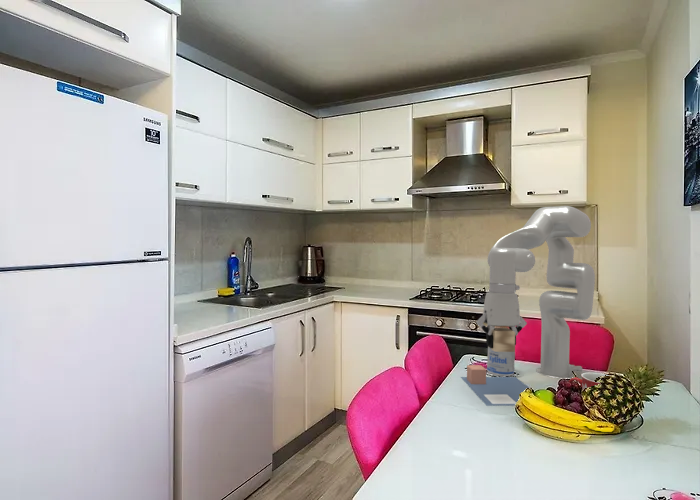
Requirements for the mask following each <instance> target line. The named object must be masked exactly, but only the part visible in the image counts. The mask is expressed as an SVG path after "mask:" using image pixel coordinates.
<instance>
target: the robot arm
mask: <svg viewBox="0 0 700 500" xmlns="http://www.w3.org/2000/svg"><path fill="white" fill-rule="evenodd" d="M591 229H592V222H591V220H590V217H589V216H588V214H586V212H583V211H582V210H580V209H578V208H576V207H573V206H570V205H561V206H560V205H559V206H555V205H554V206H543V207H540V208H538V209H536V210H535V211H534V213H532V215H531V216H530V217H529V219H528V220H527V222H526V223H525V224H524V225H523V226H522V227H521V228H519V229H516V230H515V231H513V232H510V233H507V234H506V235H504V236H502V237H501V238H500V239H498V240H497V241H495V244H494V245H493V246H491V248H490V251H489V252H488V255H487V264H488V266H489V279H488V280H489V281H488V282H489V283H488V285H489V288H488V289H489V291H488V292H486V294H485V297H484V303H483V304H484V305H483V310H482V311H483V313H482V315H481V316H480V317H479V318H478V319H477V320H476V322H475V323H476V324H477V326H478V327H480V328H481V330H482V331H483V332H484V333H485V334H486V338H485V339H486V342H485V343H486V344H485V345H487V348H488V347H490V348H493V335H492V332H493V330H494V328H496V327H507V328H508V329H510V330H512V331H514V332H515V346H517V336H518V334H519V333H520V332H521V330H522V329H523V328H524V327H526V326H527V325H528V323H527V321H526V320H525V318H523V317H522V316H521V314H520V304H519V302H520V301H519V296H518V294H517V293H516V292H517V291H518V290H519V291H520V288H521V287H520V285H517V284H516V279H517V278H516V273H525V272H529V271H531V270H532V269H533V268H534V267H535V264H536V256H535V254H534V253H533V252H532V249H535V248H538V247H541V246H542V245H543V244H544V243H545V242H546V245H547V249H548V257H547V266H546V282H547V283H548V285H549V286H551V287H554V288H563V289H571V290H572V289H575V290H576V291H577V292H573V291H572V292H571V291H564V290H563V291H562V290H547V291H543V292H542V293H541V295H540V297H539V300H538V303H539V304H538V305H539V310H540V317H541V318H540V319H541V329H540V330H541V338H540V339H541V340H540V341H541V342H540V367H539V368H536V370H535V372H536V373H537V374H539V375H542V376H545V377H549V378H554V379H555V378H556V379H561V378H572V377H573V375H574V374H572V373H573V372H572V371H574V372H583V367H582V366H581V365H575V364H570V340H571V337H570V336H571V331H570V330H571V329H570V327H569V326H570V325H568V323H567V321H566V319H571V320H579V321H585V320H588V319H589V318H590V317H591V315H592V312H593V305H594V295H595V284H596V275H595V273H596V272H595V270H594V268H593V267H592V265H591V264H588V263H583V262H574V255H575V249H574V247H573V245H572V244H571V242H570V241H569V240H568V239H567V238H584V237H586V236H588V235H589V233H590V232H591ZM485 324H486V325H485Z"/></svg>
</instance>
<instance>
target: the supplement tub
mask: <svg viewBox="0 0 700 500" xmlns="http://www.w3.org/2000/svg"><path fill="white" fill-rule="evenodd" d="M515 357H516V351H515V352H495V351H493V350H492V349H490V348H489V347H488V346H487V358H486V359H487V361H486V373H487V372H488V373H489V374H491V375H494V376H498V377H512V376H514V374H515Z"/></svg>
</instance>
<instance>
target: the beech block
mask: <svg viewBox="0 0 700 500" xmlns="http://www.w3.org/2000/svg"><path fill="white" fill-rule="evenodd" d="M492 335H493V348H490V347H489V348H490V349H492V350H493V351H495V352H515V353H516V345H515V332H514V331H512V330H510V329H509V327H495V328H494V330H493V332H492Z"/></svg>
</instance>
